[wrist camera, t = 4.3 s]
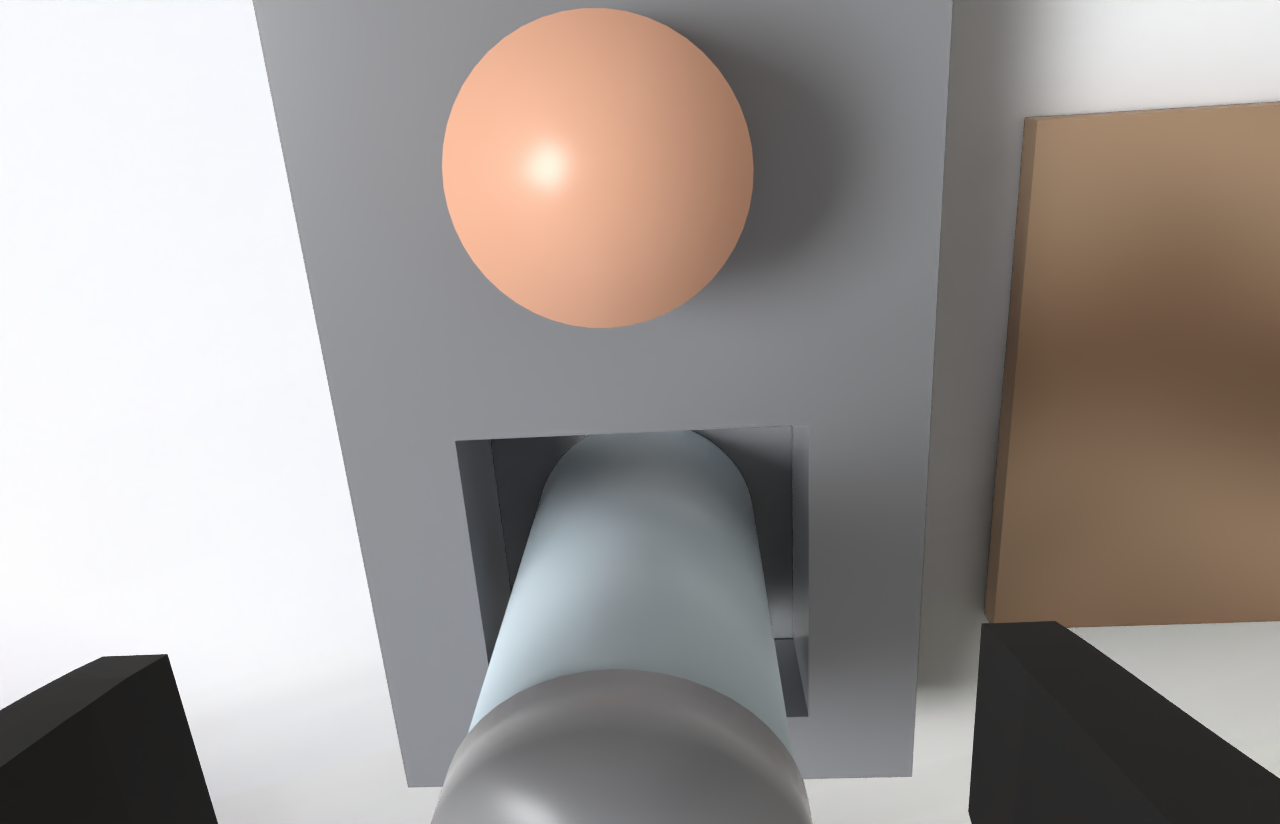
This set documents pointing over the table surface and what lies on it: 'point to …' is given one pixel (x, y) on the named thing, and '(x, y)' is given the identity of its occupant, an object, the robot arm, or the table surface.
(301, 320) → the table surface
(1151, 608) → the walnut pad
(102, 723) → the robot arm
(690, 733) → the cylinder
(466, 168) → the plunger
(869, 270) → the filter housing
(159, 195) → the table surface
